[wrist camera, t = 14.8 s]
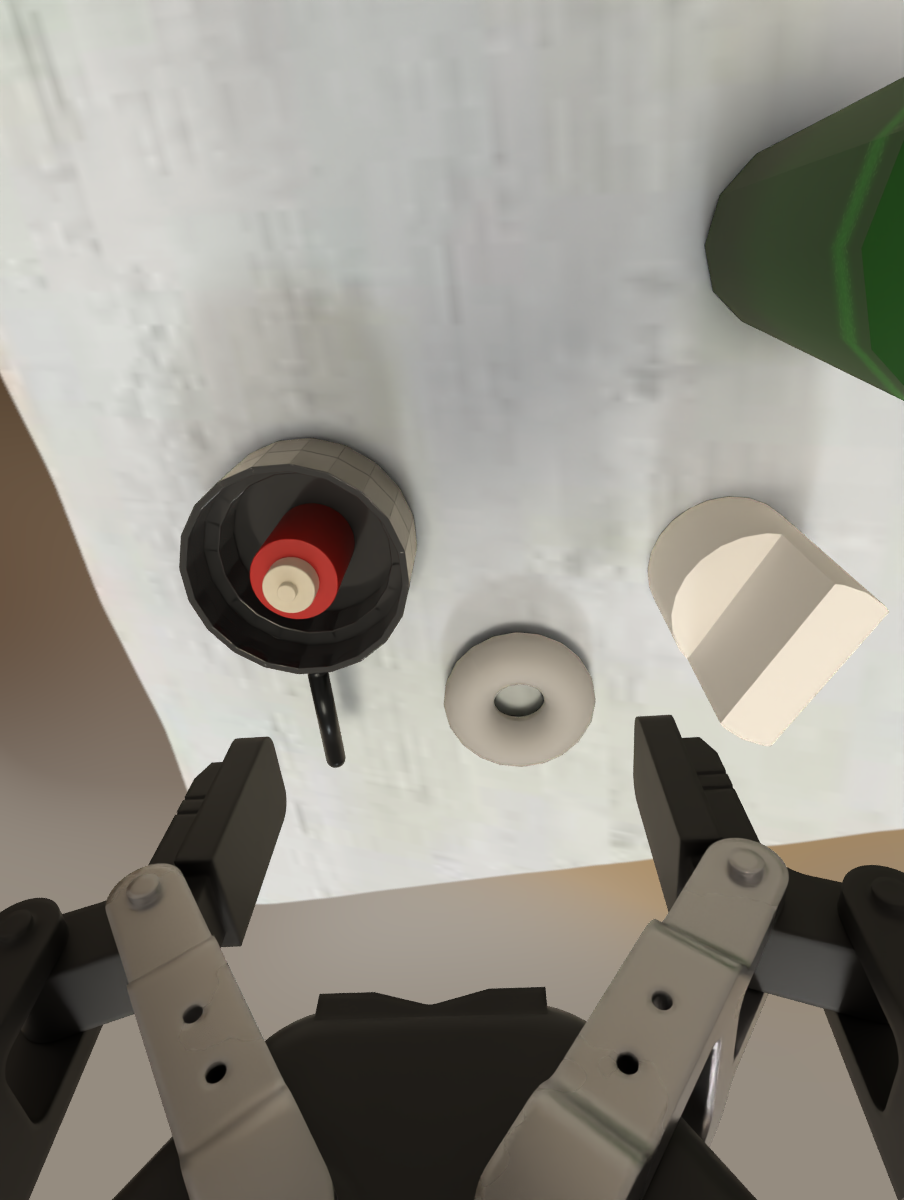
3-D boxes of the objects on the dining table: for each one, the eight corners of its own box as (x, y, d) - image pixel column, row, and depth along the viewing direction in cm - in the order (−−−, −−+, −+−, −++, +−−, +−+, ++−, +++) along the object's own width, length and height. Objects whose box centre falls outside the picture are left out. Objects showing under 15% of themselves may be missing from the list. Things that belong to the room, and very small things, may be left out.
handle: (308, 658, 42) (303, 669, 41) (327, 657, 42) (324, 668, 41) (330, 759, 45) (326, 772, 44) (348, 758, 45) (345, 771, 44)
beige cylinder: (703, 471, 41) (783, 550, 30) (827, 536, 42) (946, 633, 32) (620, 594, 45) (665, 704, 34) (737, 650, 46) (816, 772, 35)
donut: (536, 765, 51) (622, 668, 47) (539, 799, 48) (631, 699, 44) (418, 703, 49) (497, 596, 45) (413, 734, 46) (498, 622, 42)
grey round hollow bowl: (194, 445, 41) (151, 475, 36) (403, 427, 40) (392, 454, 35) (241, 630, 47) (211, 680, 41) (427, 617, 46) (420, 666, 40)
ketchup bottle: (269, 506, 42) (230, 555, 36) (348, 499, 42) (323, 547, 35) (285, 578, 44) (251, 637, 38) (360, 573, 44) (339, 631, 37)
